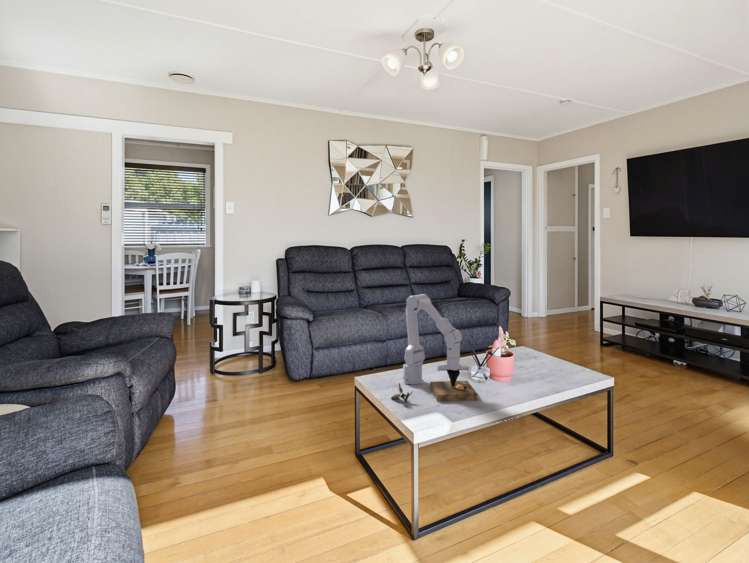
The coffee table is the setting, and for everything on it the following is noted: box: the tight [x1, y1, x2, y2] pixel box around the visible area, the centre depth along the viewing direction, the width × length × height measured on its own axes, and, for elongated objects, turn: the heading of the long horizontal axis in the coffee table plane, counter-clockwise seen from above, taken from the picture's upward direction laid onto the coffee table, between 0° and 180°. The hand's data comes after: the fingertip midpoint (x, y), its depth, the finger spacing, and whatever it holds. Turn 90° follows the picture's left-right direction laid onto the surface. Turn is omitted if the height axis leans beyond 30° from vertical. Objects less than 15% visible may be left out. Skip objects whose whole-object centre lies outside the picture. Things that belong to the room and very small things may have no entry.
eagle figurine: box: [390, 383, 413, 403], centre depth 179 cm, size 8×7×9 cm
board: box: [429, 380, 478, 402], centre depth 185 cm, size 18×16×3 cm
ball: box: [456, 384, 464, 390], centre depth 186 cm, size 4×4×4 cm
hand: (452, 385), depth 185 cm, fingers closed
